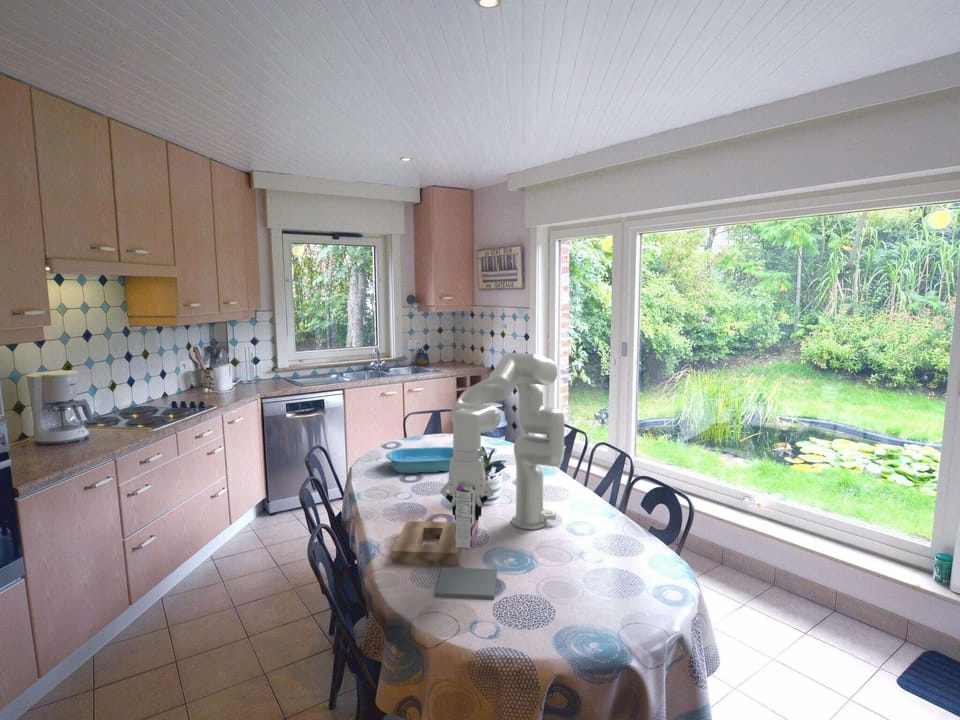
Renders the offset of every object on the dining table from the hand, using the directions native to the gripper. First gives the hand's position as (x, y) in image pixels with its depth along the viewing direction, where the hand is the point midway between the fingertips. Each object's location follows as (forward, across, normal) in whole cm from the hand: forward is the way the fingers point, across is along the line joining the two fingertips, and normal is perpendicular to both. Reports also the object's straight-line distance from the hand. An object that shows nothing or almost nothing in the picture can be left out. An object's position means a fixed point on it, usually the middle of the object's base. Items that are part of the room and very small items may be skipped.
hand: (467, 517), depth 151 cm
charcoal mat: (+20, 0, 0) cm, 20 cm away
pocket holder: (+20, +14, -21) cm, 32 cm away
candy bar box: (+7, 0, 0) cm, 7 cm away
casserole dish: (+20, +30, -103) cm, 109 cm away
